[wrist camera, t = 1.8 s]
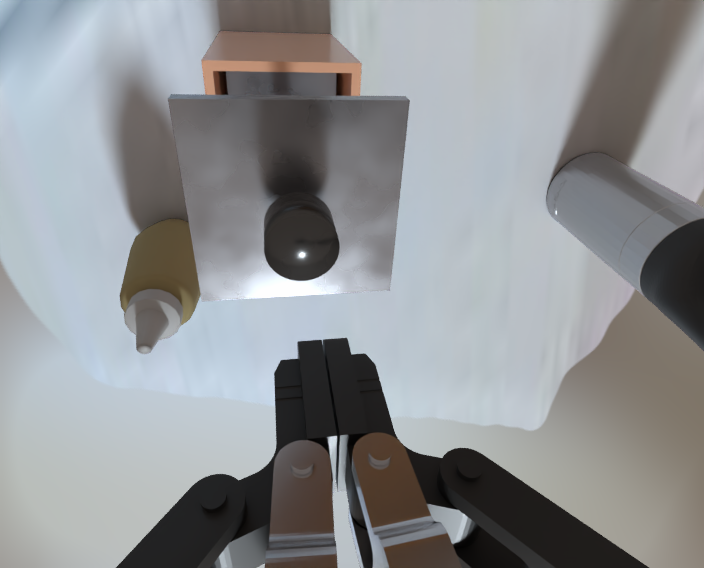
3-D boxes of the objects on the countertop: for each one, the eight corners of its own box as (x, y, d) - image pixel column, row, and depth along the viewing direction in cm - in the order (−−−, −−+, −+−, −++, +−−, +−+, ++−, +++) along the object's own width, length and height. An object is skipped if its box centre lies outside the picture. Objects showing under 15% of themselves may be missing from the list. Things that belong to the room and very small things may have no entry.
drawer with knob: (353, 49, 34) (436, 124, 18) (347, 185, 40) (407, 335, 24) (204, 46, 33) (149, 125, 16) (221, 188, 38) (193, 351, 22)
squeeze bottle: (164, 193, 49) (122, 290, 35) (228, 236, 53) (216, 339, 38) (123, 246, 52) (69, 357, 37) (188, 283, 56) (162, 397, 41)
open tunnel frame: (331, 34, 44) (361, 63, 30) (329, 142, 49) (354, 205, 36) (219, 31, 42) (201, 60, 29) (231, 142, 48) (220, 209, 34)
